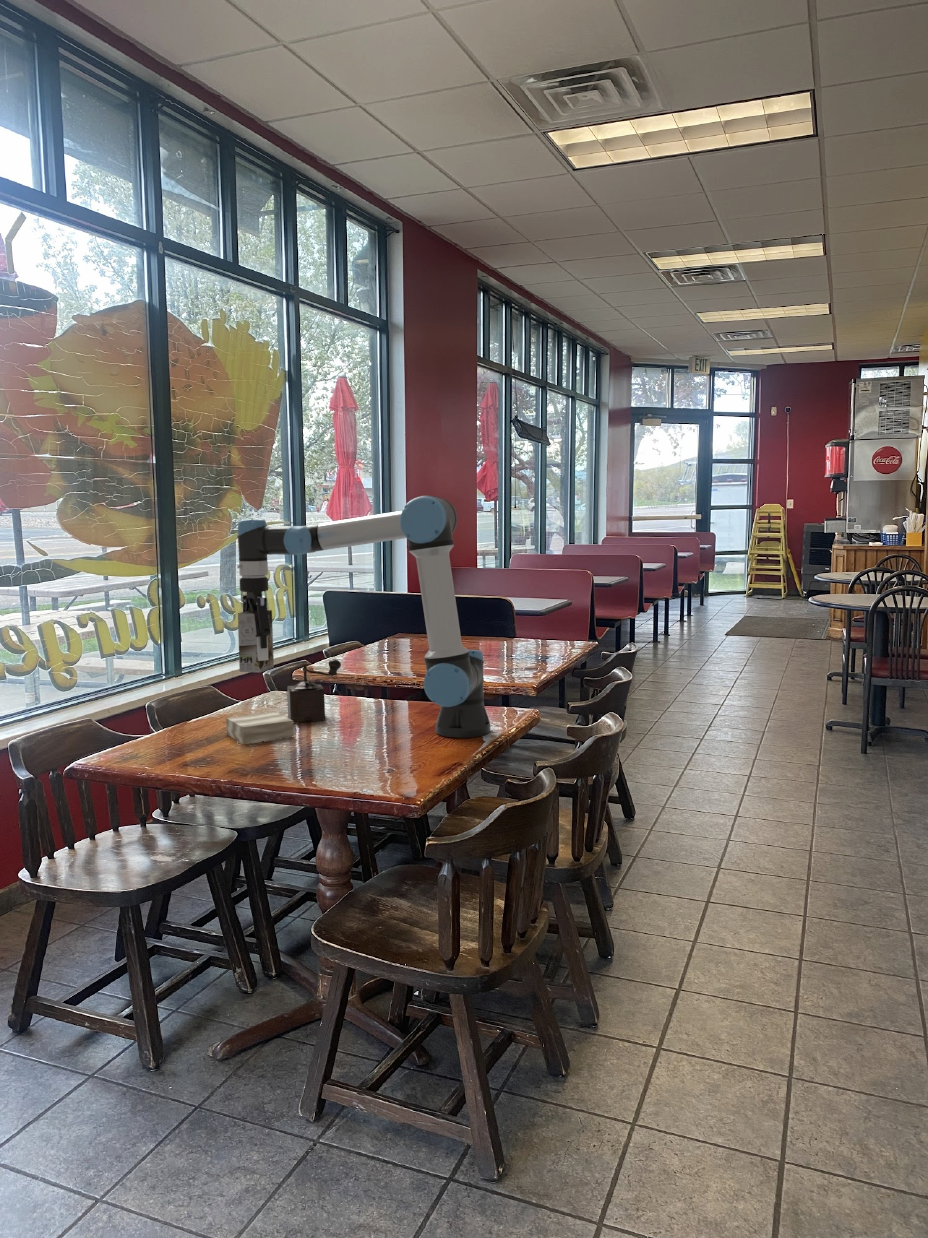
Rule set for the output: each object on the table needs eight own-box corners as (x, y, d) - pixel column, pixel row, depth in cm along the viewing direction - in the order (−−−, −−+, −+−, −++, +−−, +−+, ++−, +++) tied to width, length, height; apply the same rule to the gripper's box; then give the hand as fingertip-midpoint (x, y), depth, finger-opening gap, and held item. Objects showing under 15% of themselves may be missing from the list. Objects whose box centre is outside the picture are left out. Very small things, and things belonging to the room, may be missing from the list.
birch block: (293, 738, 247) (293, 720, 247) (243, 745, 240) (243, 727, 239) (275, 729, 259) (274, 711, 258) (226, 735, 251) (226, 718, 251)
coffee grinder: (290, 723, 264) (288, 662, 262) (287, 716, 274) (285, 657, 272) (343, 720, 268) (341, 659, 266) (338, 712, 278) (336, 654, 276)
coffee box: (261, 673, 242) (258, 612, 240) (238, 672, 243) (236, 612, 242) (274, 667, 251) (272, 609, 249) (253, 667, 252) (251, 609, 251)
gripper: (228, 575, 253) (231, 653, 255) (252, 579, 233) (256, 664, 235) (254, 574, 256) (257, 651, 259) (281, 578, 236) (283, 661, 239)
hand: (256, 657), depth 247 cm, fingers closed on coffee box, 10 cm apart
